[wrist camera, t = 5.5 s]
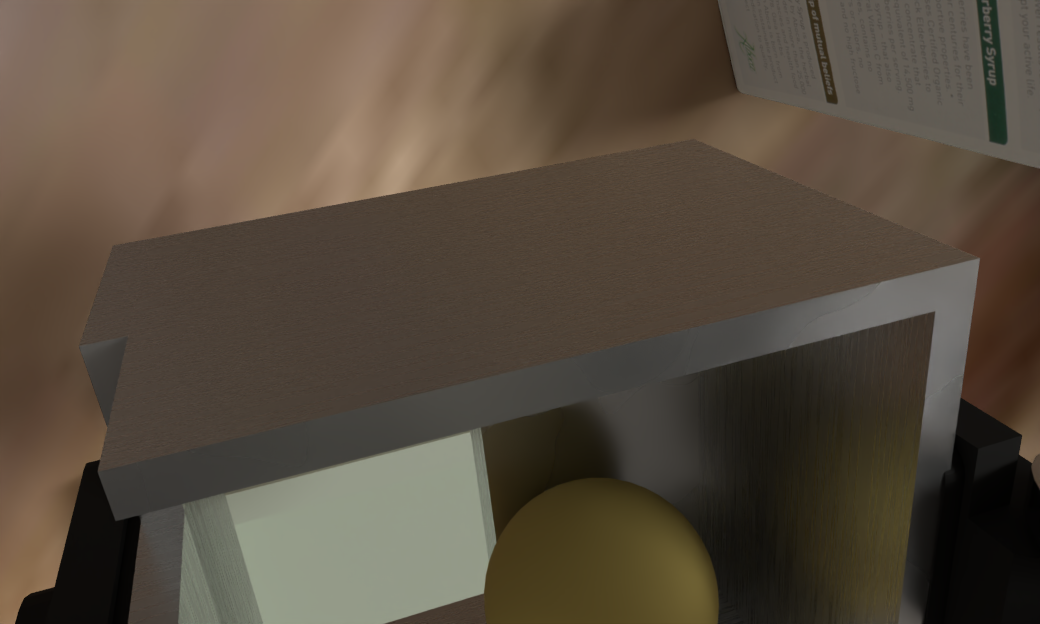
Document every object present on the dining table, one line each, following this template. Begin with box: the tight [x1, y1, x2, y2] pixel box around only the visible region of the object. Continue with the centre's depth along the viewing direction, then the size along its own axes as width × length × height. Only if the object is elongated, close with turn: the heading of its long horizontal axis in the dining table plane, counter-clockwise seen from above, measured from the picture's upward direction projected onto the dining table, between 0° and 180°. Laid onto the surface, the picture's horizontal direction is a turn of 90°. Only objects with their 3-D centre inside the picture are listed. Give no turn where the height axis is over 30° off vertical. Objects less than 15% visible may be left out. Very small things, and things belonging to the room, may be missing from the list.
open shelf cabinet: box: [79, 139, 980, 624], centre depth 10 cm, size 7×7×5 cm
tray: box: [225, 430, 489, 624], centre depth 29 cm, size 14×15×4 cm
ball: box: [484, 478, 719, 624], centre depth 11 cm, size 3×3×3 cm
